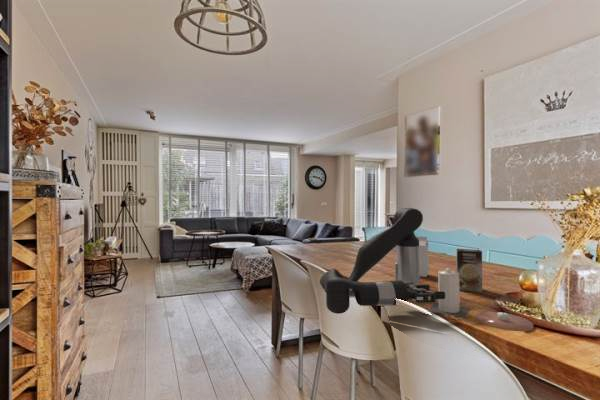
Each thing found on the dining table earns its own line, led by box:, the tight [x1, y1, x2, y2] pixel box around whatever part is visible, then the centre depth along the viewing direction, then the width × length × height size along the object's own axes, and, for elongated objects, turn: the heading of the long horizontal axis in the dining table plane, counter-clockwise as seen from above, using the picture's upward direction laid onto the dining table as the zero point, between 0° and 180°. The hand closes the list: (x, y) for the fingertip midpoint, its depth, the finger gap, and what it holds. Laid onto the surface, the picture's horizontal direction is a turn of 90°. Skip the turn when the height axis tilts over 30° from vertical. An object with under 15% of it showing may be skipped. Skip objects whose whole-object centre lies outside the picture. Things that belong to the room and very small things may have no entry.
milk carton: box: [415, 235, 430, 278], centre depth 156 cm, size 7×7×19 cm
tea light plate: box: [475, 311, 534, 333], centre depth 92 cm, size 14×14×3 cm
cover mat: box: [427, 302, 472, 319], centre depth 103 cm, size 11×11×1 cm
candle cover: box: [437, 267, 461, 313], centre depth 103 cm, size 6×6×13 cm
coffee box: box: [456, 248, 483, 293], centre depth 129 cm, size 9×6×16 cm
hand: (436, 291), depth 101 cm, fingers open, 8 cm apart
